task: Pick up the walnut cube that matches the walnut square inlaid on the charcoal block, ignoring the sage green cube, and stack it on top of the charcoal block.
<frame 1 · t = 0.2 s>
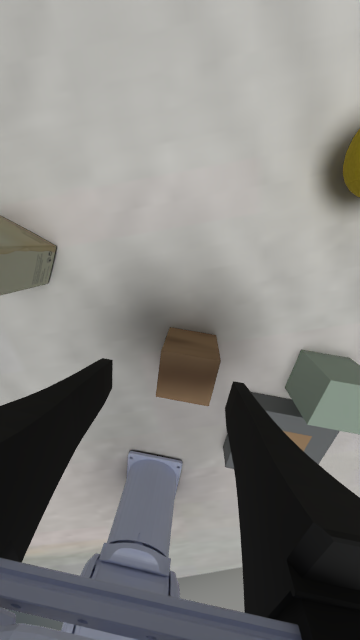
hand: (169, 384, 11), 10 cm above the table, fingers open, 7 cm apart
walnut cube: (189, 350, 22), on the table
lemon: (357, 169, 15), on the table
charcoal block: (270, 425, 25), on the table
sage cube: (315, 373, 21), on the table
skincare box: (25, 251, 19), on the table
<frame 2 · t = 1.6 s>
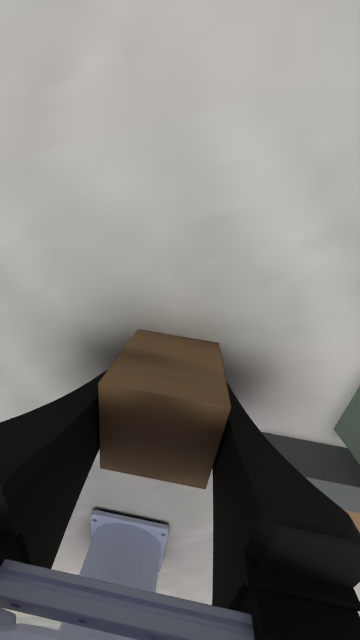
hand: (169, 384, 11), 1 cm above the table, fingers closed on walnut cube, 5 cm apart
walnut cube: (172, 369, 13), on the table, touching gripper
charcoal block: (302, 481, 16), on the table
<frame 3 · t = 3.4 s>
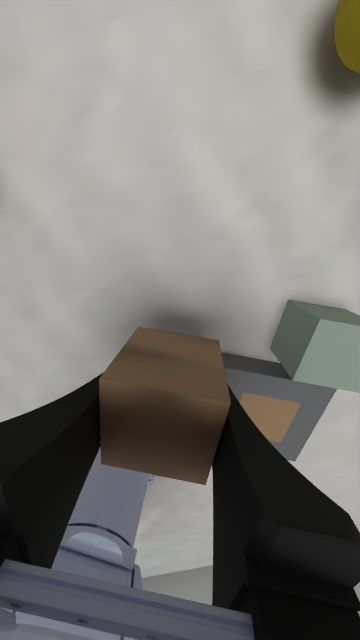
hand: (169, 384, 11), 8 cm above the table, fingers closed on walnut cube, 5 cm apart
walnut cube: (173, 367, 13), point 7 cm above the table, touching gripper
lemon: (353, 49, 12), on the table
charcoal block: (255, 396, 22), on the table
sage cube: (305, 329, 18), on the table
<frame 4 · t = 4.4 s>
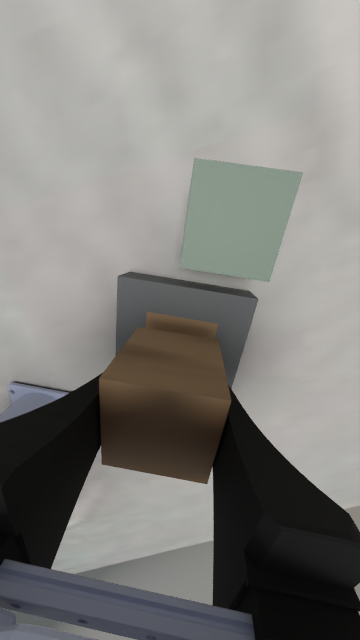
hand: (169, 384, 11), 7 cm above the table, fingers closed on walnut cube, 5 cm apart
walnut cube: (173, 367, 13), point 5 cm above the table, touching gripper
charcoal block: (180, 333, 18), on the table
sage cube: (223, 232, 14), on the table
when the fingers open (6 cm above the table, at t = 5.0 s): walnut cube drops 2 cm, point 2 cm above the table.
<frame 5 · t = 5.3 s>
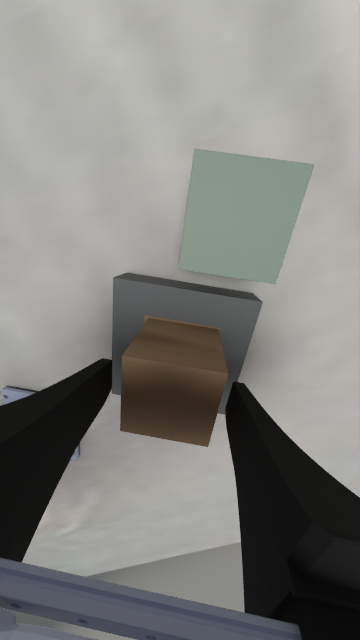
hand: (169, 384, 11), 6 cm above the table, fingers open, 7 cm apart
walnut cube: (178, 353, 14), point 2 cm above the table
charcoal block: (180, 336, 17), on the table
sage cube: (225, 230, 14), on the table
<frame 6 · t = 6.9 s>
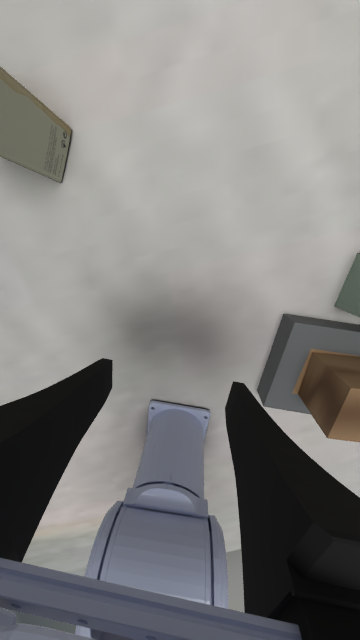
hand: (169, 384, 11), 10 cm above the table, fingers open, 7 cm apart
walnut cube: (330, 376, 19), point 2 cm above the table, touching charcoal block
charcoal block: (312, 360, 22), on the table, touching walnut cube
skincare box: (35, 142, 17), on the table
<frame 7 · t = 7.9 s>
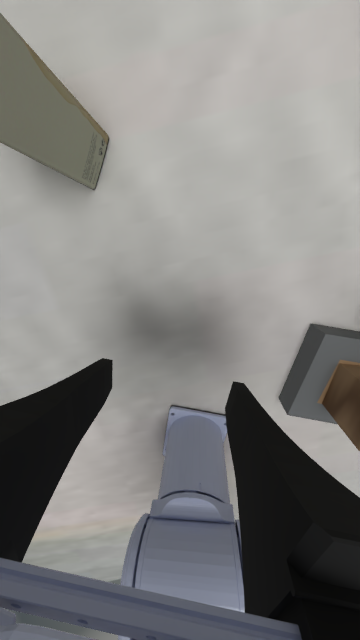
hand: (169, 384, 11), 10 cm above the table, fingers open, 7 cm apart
walnut cube: (356, 387, 19), point 2 cm above the table, touching charcoal block
charcoal block: (335, 369, 22), on the table, touching walnut cube
skincare box: (70, 148, 17), on the table
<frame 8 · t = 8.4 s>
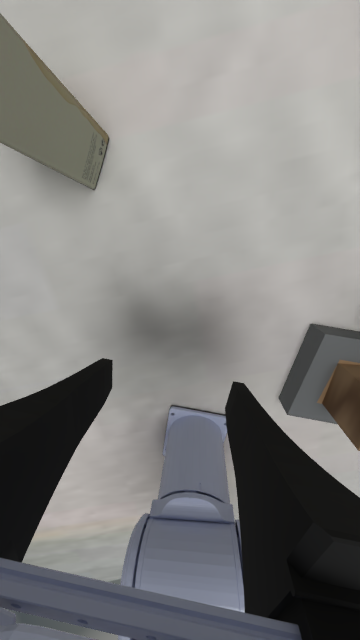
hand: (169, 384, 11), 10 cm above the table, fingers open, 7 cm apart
walnut cube: (356, 386, 19), point 2 cm above the table
charcoal block: (335, 369, 22), on the table
skincare box: (70, 148, 17), on the table
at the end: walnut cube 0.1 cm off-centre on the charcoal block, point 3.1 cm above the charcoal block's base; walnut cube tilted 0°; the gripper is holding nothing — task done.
